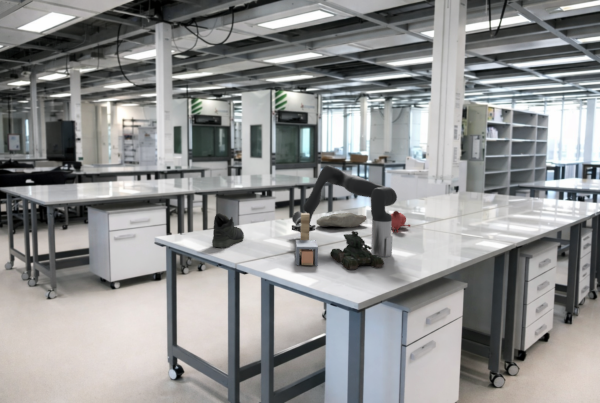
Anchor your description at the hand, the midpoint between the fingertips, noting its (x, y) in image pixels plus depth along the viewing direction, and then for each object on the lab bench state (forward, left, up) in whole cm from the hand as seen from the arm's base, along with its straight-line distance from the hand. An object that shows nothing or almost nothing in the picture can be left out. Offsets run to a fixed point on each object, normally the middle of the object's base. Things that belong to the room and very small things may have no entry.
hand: (304, 230), depth 239 cm
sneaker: (+41, +12, -10) cm, 44 cm away
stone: (+23, -68, -10) cm, 72 cm away
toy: (-8, -86, -10) cm, 87 cm away
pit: (-7, +9, -10) cm, 15 cm away
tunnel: (-14, +17, -10) cm, 24 cm away
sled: (-11, +13, -9) cm, 20 cm away
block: (-18, +21, -8) cm, 29 cm away
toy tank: (-32, +3, -11) cm, 34 cm away
